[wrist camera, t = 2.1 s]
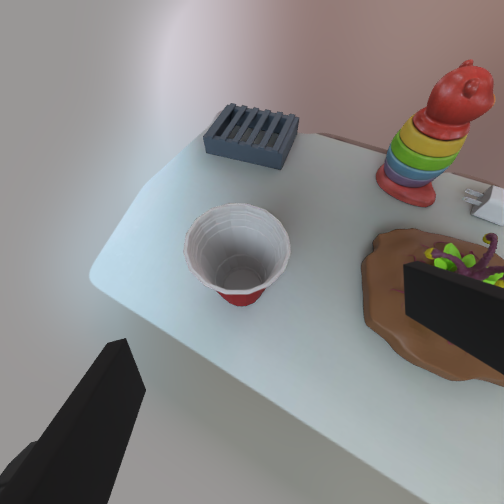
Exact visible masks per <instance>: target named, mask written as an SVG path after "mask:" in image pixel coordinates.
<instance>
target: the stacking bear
mask: <svg viewBox="0 0 504 504" xmlns="http://www.w3.org/2000/svg"><path fill="white" fill-rule="evenodd" d="M494 103H495V95H494V94H493V78H492V76H491V74H490V73H489V72H488V71H487V70H486V69H484V68H481V67H477V66H473V60H467V61H465V62H463V63H462V64H461V65H460V66H459V68H457V69H455V70H453V71H451V72H449V73H447V74H446V75H445V76H443V77H442V78H441V79H440V80H439V81H438V82H437V83H436V85H435V86H434V88H433V90H432V92H431V94H430V97H429V100H428V103H427V107H425V108H423V109H421V110H420V111H418V112H417V113H416V114H414V115H413V116H411V117H410V118H409V119H408V120H407V122H406V123H405V124H404V125H403V127H402V128H401V129H400V130H399V132H398V133H397V134H396V135H395V137H394V138H393V140H392V142H391V144H390V146H389V149H388V151H387V155H386V159H385V163H384V164H383V165H382V166H381V167H380V168H379V169H378V171H377V173H376V180H377V183H378V184H379V186H380V187H381V188H382V189H383V190H384V191H385V192H387V193H388V194H390V195H391V196H393V197H395V198H396V199H398V200H400V201H403V202H405V203H408V204H411V205H415V206H420V207H428V206H430V205H432V204H433V203H434V201H435V197H436V194H435V191H434V189H433V187H432V183H431V181H433V180H434V179H435V178H436V177H438V176H439V175H440V174H442V173H443V172H444V171H445V170H446V169H447V168H448V167H449V166H450V165H451V164H452V162H453V161H454V160H455V158H456V156H457V155H458V153H459V151H460V149H461V147H462V145H463V143H464V141H465V139H466V137H467V134H468V133H469V131H470V121H472V120H475V119H476V118H478V117H480V116H481V115H483V114H484V113H486V112H487V111H488V110H489V109H490V108H491V107H492V106H493V105H494Z"/></svg>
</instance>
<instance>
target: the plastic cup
mask: <svg viewBox="0 0 504 504" xmlns="http://www.w3.org/2000/svg"><path fill="white" fill-rule="evenodd" d="M183 253H184V256H185V259H186V262H187V265H188V268H189V271H190V272H191V273H192V274H193V275H194V276H195V277H196V278H197V279H198V280H199V281H200V282H201V283H202V284H203V285H204V286H206V287H209V288H211V289H214V290H216V291H217V292H218V293H219V294H220V295H221V296H222V297H223V298H224V299H225V300H227V301H228V302H229V303H231V304H233V305H236V306H247V305H249V304H252V303H254V302H255V301H256V300H257V299H258V298H259V297H260V296H261V294H262V292H263V291H264V290H265V288H266V287H268V286H270V285H271V284H272V283H273V282H274V281H275V280H276V279H277V278H278V277H279V276H280V275H281V274H282V273H283V272H284V271H285V268H286V266H287V263H288V260H289V257H290V255H291V250H290V241H289V235H288V234H287V232H286V230H285V229H284V227H283V225H282V224H281V222H280V220H278V219H277V218H276V217H274V216H273V215H272V214H270V213H269V212H268V211H267V210H265V209H262V208H259V207H256V206H253V205H250V204H243V203H228V204H224V205H221V206H217V207H214V208H211V209H209V210H208V211H206V212H205V213H204V214H202V215H201V216H199V217H198V218H196V219H195V221H194V222H193V224H192V225H191V227H190V228H189V230H188V232H187V233H186V236H185V243H184V250H183Z"/></svg>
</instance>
